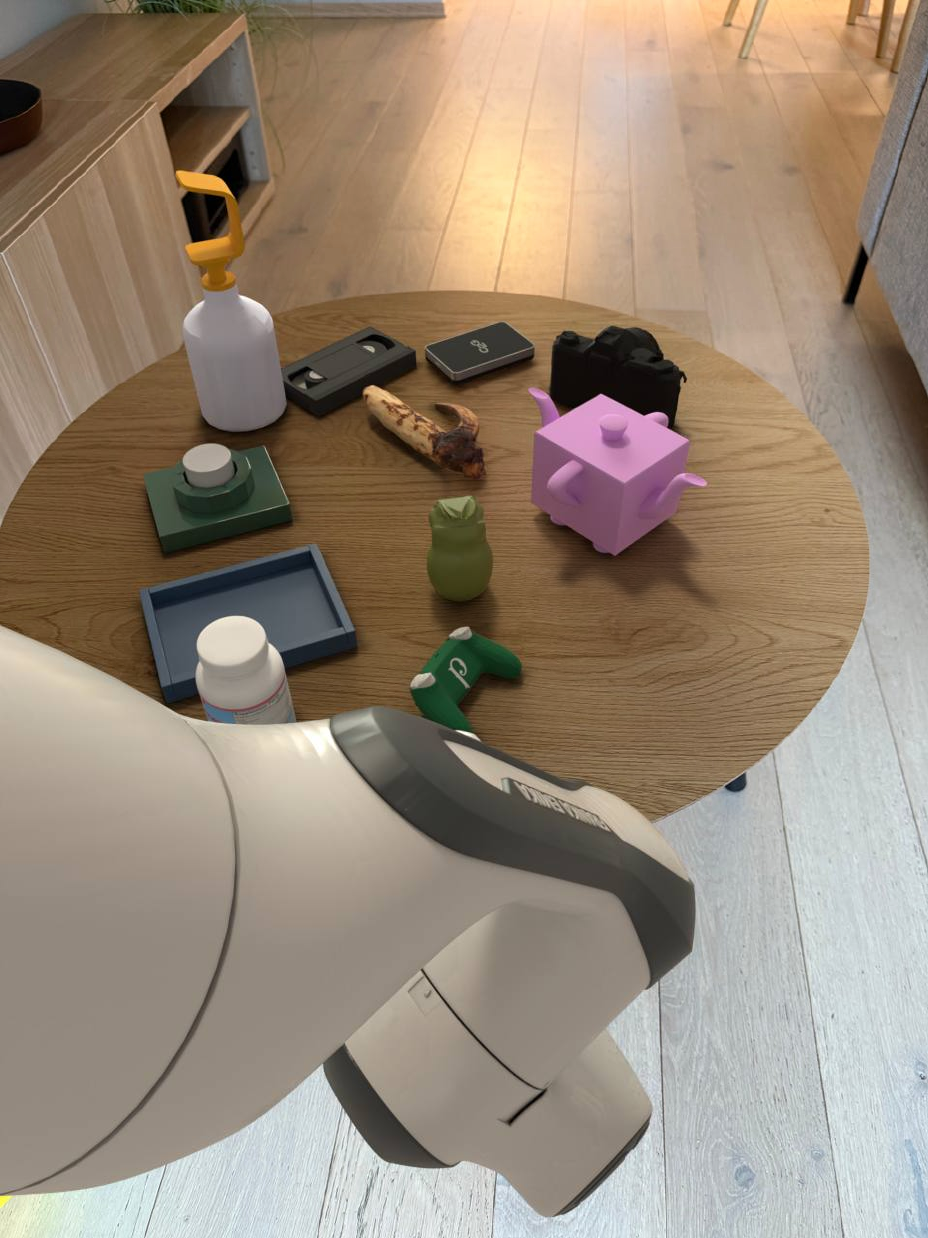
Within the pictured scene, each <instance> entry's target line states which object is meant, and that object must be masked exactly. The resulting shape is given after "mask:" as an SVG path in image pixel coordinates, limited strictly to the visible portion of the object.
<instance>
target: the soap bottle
mask: <svg viewBox="0 0 928 1238" xmlns="http://www.w3.org/2000/svg"><path fill="white" fill-rule="evenodd" d="M174 176H175V178H176V180H177V182H178V183H179V185H180V187H181V189H183V190H184V191H187V192H192V193H199V194H204V195H205V194H206V195H212V196H219V197H223V198H225V199H224V200H225V204H226V209H227V215H228V220H229V224H230V225H229V232H228V234H227V235H226V236H223V237H218V238H214V239H213V238H212V239H208V240H203V241H197V242H192V243H189V244H187V245H185V247H184V251H185V253H186V255H187V257H188V259H189V261H190V263H191V264H192V265H194V266H201V267H202V268H204V269H206V271H207V273H206V274H203V276H202V277H201V278H200V283H201V289H202V293H203V299H204V300H202V301H201V302H199V303H197V304H196V305H195V306H194V307H193V308H192V309H191V310H190V311H189V312H188V314H187V315H186V317H185V318H184V319H183V323H182V340H183V343H184V347H185V351H186V355H187V359H188V364H189V368H190V371H191V375H192V380H193V384H194V388H195V391H196V396H197V399H198V404H199V408H200V412H201V415H202V417H203V418H204V420H205V421H206V422H207V423H208V424H209V425H210V426H212V427H214V428H216V429H218V430H222V431H227V432H233V433H235V432H236V433H237V432H251V431H254V430H258V429H259V430H260V429H262V428H264V427H267V426H269V425H271V424H273V423H274V422H275V423H276V421H277V420H278V419H279V418H280V417H281V416H282V415H283V413H284V412H285V410H286V407H287V405H288V404H287V398H286V397H287V396H286V395H285V390H284V385H283V379H282V373H281V368H282V366H281V361H280V356H279V350H278V344H277V338H276V331H275V325H274V322H273V321H274V320H273V317H272V316H271V314H270V312H269V311H268V309H267V308H266V307H265V306H264V305H263V304H261V303H259V302H258V301H256V300H254V299H252V298H250V297H247V296H245V295H240V294H239V290H238V285H237V279H236V275H235V274H234V273H233V272H231V271H229V270H228V271H227V270H226V267H225V266H227V265H228V264H229V263H230V260H234V259H237V258H240V257H241V256H242V255H243V254H244V252H245V248H246V243H245V238H244V233H243V227H242V222H241V217H240V216H241V215H240V211H239V204H238V202H237V199H236V197H235V196H234V195H233V193H232V191H231V190H230V188H229V187H228V185H227V184H226V182H225V181H224V180H223V179H222V178H220V177H218V176H216V175H213V174H206V173H199V172H193V171H187V170H176V171H175V175H174Z"/></svg>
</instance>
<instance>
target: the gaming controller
mask: <svg viewBox="0 0 928 1238" xmlns="http://www.w3.org/2000/svg"><path fill="white" fill-rule="evenodd" d="M522 667H523V664H522V661H521V660H520V658H519V657H518V656H517V655H516V654H515V653H514V652H513V651H511V650H510V649H508V648H506V647H505V646H503V645H502V644H500V643H497V642H496V641H493V640H492V639H489V638H487V637H485V636H483V635H481V634H479V633H477V632H475V631H473V630H472V629H470V626H462V627H459V628H457V629H455V630H453V631H452V632H450V634H449V635H448V638H447V639H445V642H443V643H442V644H441V645H440V646H439V647H438V649H437V650H436V651H435V652H434V653H433V654H432V655H431V657H430V658H429V659H428V661H426V663H425V665H424V666H423V667H422V669H421V670H420V672H419V674H417V675H416V676H415V677H414V678H413V679H412V681H411V683H410V685H409V692H410V695H411V697H412V700H413V701H414V705H415V707H417V709H418V710H419V712H420V713H421V714H422V715H423V716H424V718H425V719H428V720H430V721H433V722H436V723H438V724H441V725H443V726H445V727H448V728H450V729H453V730H461V731H465V732H469V733H473V734H475V733H474V731H473V729H472V727H471V724H470V722H469V720H468V719H467V717H466V716H465V715H464V713H463V712H462V711H461V709H460V708H459V705H460V703H461V702H462V700H463V699H464V698H465V697H466V695H468V693H469V692H470V690H471V689H472V687H473V686H474V685H475V683H476V682H477V681H478V679H479V678H480V677H481V675H482V674H483V673H487V674H489V675H494V676H496V677H500V678H504V679H511V680H515V679H517V678H519V677H521V673H522Z"/></svg>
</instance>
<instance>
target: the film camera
mask: <svg viewBox="0 0 928 1238" xmlns="http://www.w3.org/2000/svg"><path fill="white" fill-rule="evenodd" d="M664 355H665V354H664V352H663V351H662V349H661V348H660V345H659V343H658V341H657V339H656V338H655V336H654V335H653V334H652V333H651V332H649V331H648V330H647V329H644V328H641V327H637V326H634V327H633V326H632V327H626V328H623V327H620V326H617V325H609V326H607V327H605V328H604V329H602V330H601V332H599V333H598V334H597V335H596V336H595V337H594V338H591V337H587V336H583V335H580V334H578V333H577V332H576V331H573V330H565V329H564V330H563V331H562V332H561V333H560V334H558V335H556V336H555V340H554V341H553V343H552V347H551V361H550V365H551V366H550V378H549V379H550V380H549V388H548V389H549V397H550V398H551V400H552V401H553V403H556V404H559V405H561V406H564V407H567V408H570V409H571V410H574V409H575V408H577V407H579V406H581V405H583V404H584V403H586V402H588V401H590V400H591V399H593V398H595V397H597V396H598V395H600V394H602V395H604V396H606V397H608V398H610V399H612V400H614V401H616V402H618V403H620V404H622V405H624V406H626V407H628V408H630V409H632V410H633V411H635V412H637V413H639V414H641V415H643V416H646V415H648V414H651V413H654V412H660V413H664V414H665V415H666V416H667V417H668V426H667V428H668V429H669V430H671V431H672V429H673V428H674V427H675V421H676V416H677V412H678V406H679V400H680V399H679V398H680V394H681V390H682V386H681V381H682V379H683V384H686V383H687V382H688V377H687V375H686V374H685V371H684V370H680V367H679V366H678V365H676V364H675V363H674V361H672V360H671V359H665V356H664Z"/></svg>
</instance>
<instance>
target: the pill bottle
mask: <svg viewBox="0 0 928 1238" xmlns="http://www.w3.org/2000/svg"><path fill="white" fill-rule="evenodd" d="M197 651H198V655H199V660H200V661H199V663H198V666H197V669H196V684H197V688H198V691H199V694H198V695H199V698H200V700H201V705H202V707H203V710H204V712H205V715H206V718H207V721H209V722H216V723H225V724H243V725H272V724H287V723H298V722H297V718H296V713H295V709H294V705H293V701H292V696H291V691H290V687H289V683H288V682H289V681H288V678H287V674H286V670H285V669H286V668H285V669H284V665H283V661H282V658H281V656H280V654H279V652H278V651H277V650H276V649H275V648H274V647H273V646H272V645H271V644H270V643H268V640H267V637H266V634H265V631H264V629H263V627H262V626H261V625H260V624H259V623H258V622H257V621H255V620H253V619H251V618H248V617H244V616H229V617H225V618H221V619H218V620H216V621H214V622H212V623H211V624H209V625H208V626H207V627H206V628H205V629H204V630H203V631H202V632H201V633H200V635H199V637H198V640H197Z"/></svg>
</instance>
